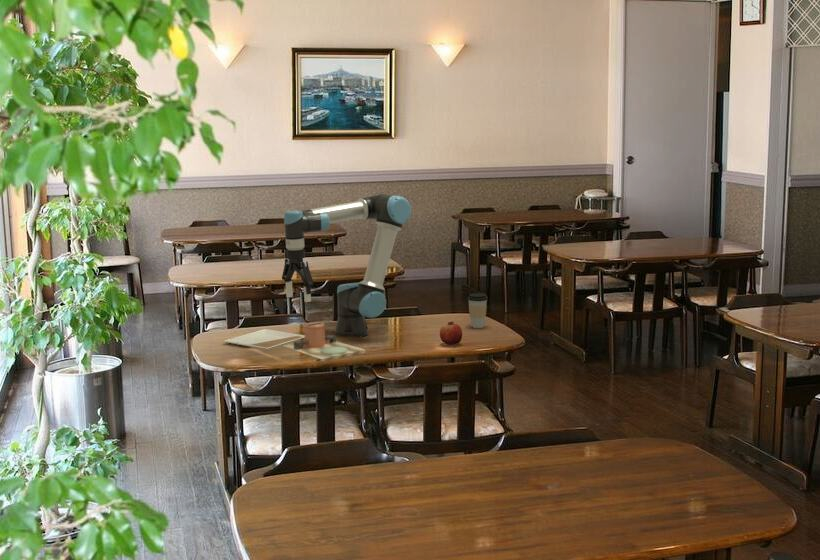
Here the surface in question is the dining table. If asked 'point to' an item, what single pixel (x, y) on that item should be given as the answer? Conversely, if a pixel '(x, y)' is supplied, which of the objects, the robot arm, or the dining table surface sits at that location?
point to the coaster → (333, 350)
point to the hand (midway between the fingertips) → (298, 299)
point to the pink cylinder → (315, 335)
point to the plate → (262, 338)
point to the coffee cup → (477, 309)
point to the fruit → (451, 333)
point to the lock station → (333, 343)
